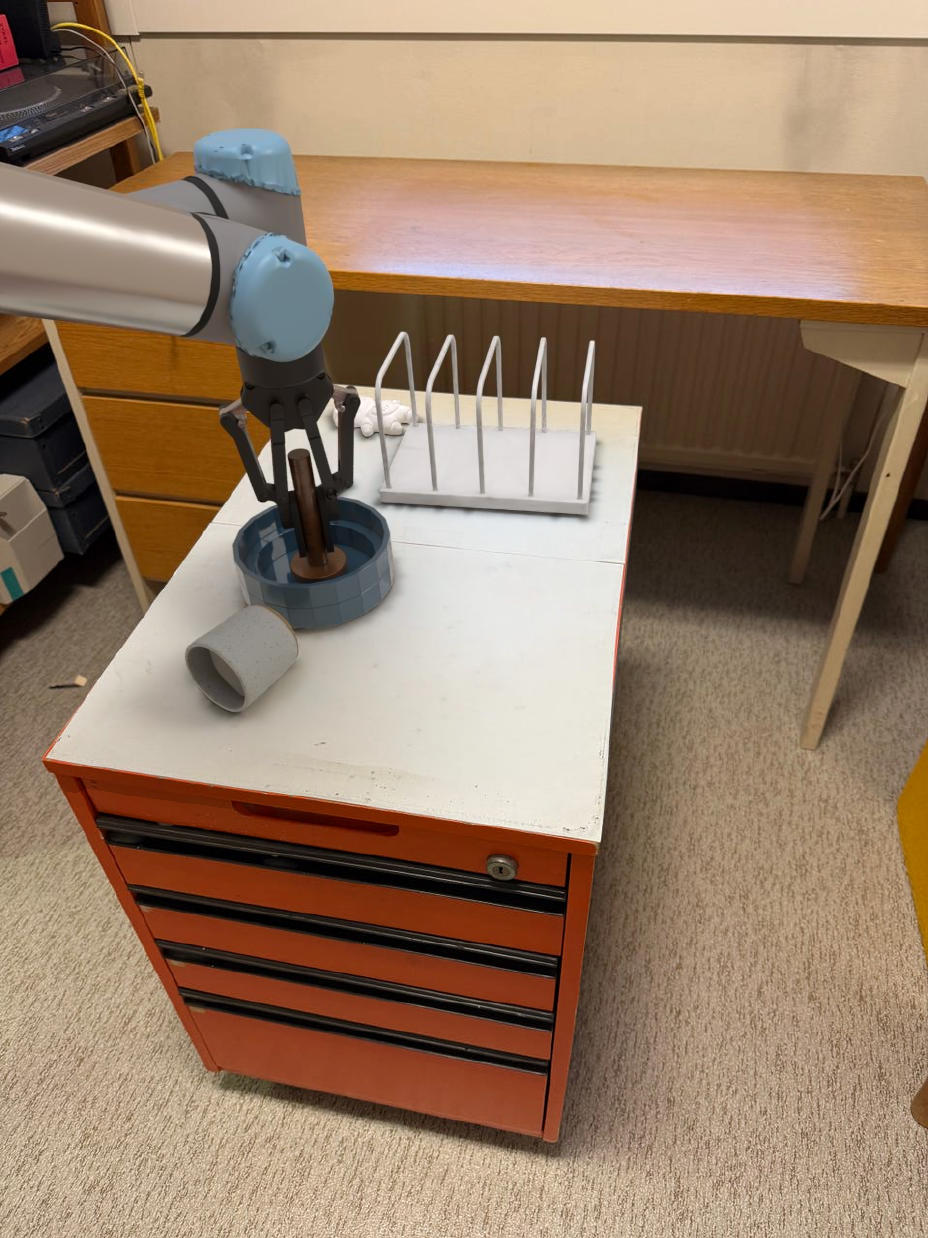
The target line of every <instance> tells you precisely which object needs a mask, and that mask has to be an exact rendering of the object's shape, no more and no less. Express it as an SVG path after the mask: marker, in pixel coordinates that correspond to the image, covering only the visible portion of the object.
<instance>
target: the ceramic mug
mask: <svg viewBox="0 0 928 1238" xmlns="http://www.w3.org/2000/svg"><path fill="white" fill-rule="evenodd" d="M299 648H300V647H299V642H298V637H297V636H296V633H295V630H294V628H291V626H290V625H289V623H288V622H287V621H286V620H285V619H284V618H283V617H282V616H281V615H280V614H279V613H278V612H276V611H275V610H273V609H271V608H269V607H267V606H264V605H258V604H256V605H251V606H248V605H247V606H246V607H244V608H241V609H240V610H237V611H236V612H235V613H232V615H230V616H229V617H228V618H227V619H225V620H224V621H222V622H221V623H219V624H217V625H216V626H215V627H213V628H212V629H210V630H209V631H207V632H206V633H204V634H203V635H202V636H199V637H198V638H197V639H195V640H194V641H192V642H191V643H190V644H189V645H188V646H187V648H186V649H185V653H184V660H185V666H186V668H187V671H188V673H189V675H190V676H191V679H192V681H193V682H194V684H195V685H196V686H197V687H198V689H199V690H200V691H201V692H202V693H203V694H204V696H206V697H207V698H208V699H209V700H210V701H211V702H212V703H214V704H215V705H216V706H217V707H220V708H222V709H224V710H225V711H229V712H232V713H240V712H243V711H245V710H247V708H249V707H250V705H251V704H252V703H254V702H255V701H256V700H257V699H258V698H259V697H261V695H262V694H264V693H265V692H266V691H267V690H269V688H270V687H271V686H272V685H273V684H274V683H275V682H276V681H277V680H278V679H280V678H281V677H282V676H284V675H285V673H286V672H287V671H288V670H289V669H291V667H292V666H293V664H294V663H295V662H296V660H297V658H298V656H299Z"/></svg>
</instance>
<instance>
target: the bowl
mask: <svg viewBox="0 0 928 1238" xmlns="http://www.w3.org/2000/svg"><path fill="white" fill-rule="evenodd" d="M337 500H338V507H339V513H340V517H339V520H336V521H330V527H331V533H332V539H333V545H334V546H336V547H338V548H340V549H341V550H342V551H343V552H344V553H345V555H346V559H347V565H348V567H347V571H346V573H345V575H343V576H340V577H338V578H335V579H333V580H327V581H322V582H316V583H311V584H300V583H298V582H297V581H295V579H294V578H293V576H292V573H291V568H290V561H291V559H292V557H293V556H294V555H295V554H296V553H297V552H298V546H297V541H296V536H295V531H294V528H291V529H285V530H284V528H283V527H282V525H281V520H280V515H279V510H278V506H277V504H273V505H271V506H269V507H267V508H265V509H263V510H262V511H261V512H259V513H257V514H255V515H254V516H252V517H250V519H248V521H247V522H245V523H244V525H243V526H241V528H240V529H239V530H237V534H236V536H235V538H234V540H233V543H232V545H231V547H232V556H233V557H232V558H233V563H234V566H235V571H236V574H237V578H238V582H239V586H240V589H241V593H242V597H243V601H244V602H245V603H246V604H247V607H248V606H251V605H256V604H258V605H264V606H267V607H269V608H271V609H273V610H275V611H276V612H278V613H279V614H280V615H281V616H282V617H283V618H284V619H285V620H286V621H287V622H288V623H289V625H290V626H291V628H292V629H312V630H313V629H315V630H316V629H322V628H327V627H332V626H338V625H341V624H344V623H347V622H349V621H352V620H354V619H356V618H359V617H361V616H364V615H365V614H367V613H368V612H369V611H371V610H372V609H373V608H375V607H376V606H377V605H379V604H380V603H381V602H382V601H383V600H384V598H385V597H386V596H387V594H388V593H389V591H390V590H391V588H392V586H393V582H394V576H395V565H394V564H395V563H394V555H393V547H392V538H391V537H392V536H391V531H390V528H389V524H388V522H387V519H386V517H385V516H383V514H382V513H380V511H378V509H376V508H375V507H374V506H372V505H370V504H368V503H365V502H363V501H361V500H359V499H356V498H351V497H345V496H341V495H337Z"/></svg>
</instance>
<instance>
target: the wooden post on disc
mask: <svg viewBox="0 0 928 1238" xmlns="http://www.w3.org/2000/svg"><path fill="white" fill-rule="evenodd" d="M311 456H312V455H311V452H310V450H309V449H308V448H302V447H299V448H294V449H291V450H290V451H289V452H288V453H287V454H286V458H287V462H288V467H289V472H290V477H291V482H292V483H291V484H292V488H293V490H294V493H295V498H296V501H297V506H298V512H299V517H300V522H301V527H302V532H303V538H304V543H305V548H306V553H307V557H303V558H300V556H299V551H298V552H297V553H296V554H295V555H294V556H293V557H292V559H291V561H290V568H291V573H292V576H293V578H294V579H295V581H297V582H298V583H300V584H311V583H316V582H322V581H327V580H333V579H335V578H338V577H340V576H343V575H345V573H346V571H347V567H348V565H347V559H346V555H345V553H344V552H343V551H342V550H341V549H340V548H338V547H336V546H334V551H335V552H331V553H327V549H326V544H325V538H324V532H323V526H322V521H321V515H320V509H319V503H318V497H317V490H316V486H317V484H316V479H315V473H314V468H313V462H312V461H313V460H312V457H311Z"/></svg>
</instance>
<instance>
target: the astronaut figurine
mask: <svg viewBox="0 0 928 1238" xmlns="http://www.w3.org/2000/svg"><path fill="white" fill-rule="evenodd" d="M358 395H359V398H360V401H361V404H360V407H359V409H358V412H357V414H356V417H355V419H354V428H360V430H361V433H362V436H364V437H367V438H368V437H371V436H372V435H374V433H379V428H378V420H377V412H376V403H375V399H374V398H373V397H371V396H366V395H361V394H358ZM381 407H382V416H383V424H384V432H385V435H390V436H400V435H402V434H403V432H404V427H403V426H402V424H408V425H409V424H410V423H413V417H412V407H410V406H407V405H403V404H402V401H401V400H399V399H392V400H391V399H390V400H389V399H381ZM332 419H333V422H334V425H335V427H336V428H338V410H336V408H335V407H334V408H333V411H332ZM417 423H419V415H418V413H417Z"/></svg>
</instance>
